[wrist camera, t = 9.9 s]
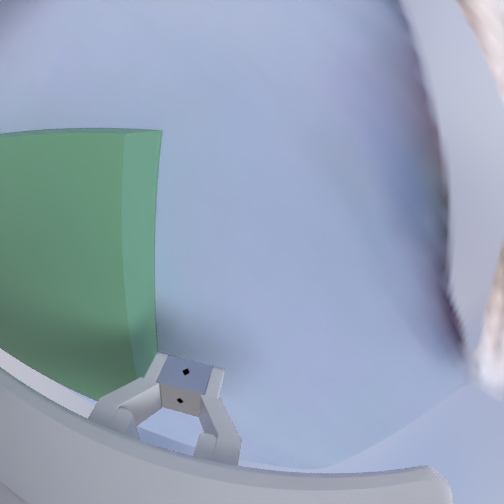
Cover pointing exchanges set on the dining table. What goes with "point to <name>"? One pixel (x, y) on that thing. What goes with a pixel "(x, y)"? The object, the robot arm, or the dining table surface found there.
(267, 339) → the dining table surface
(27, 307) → the green
